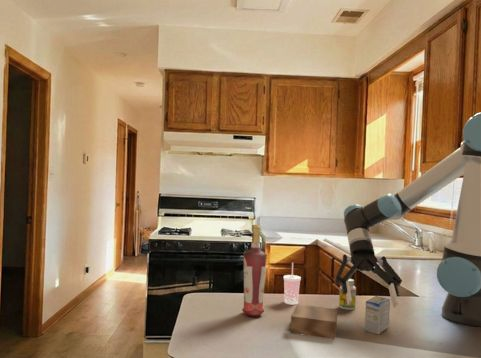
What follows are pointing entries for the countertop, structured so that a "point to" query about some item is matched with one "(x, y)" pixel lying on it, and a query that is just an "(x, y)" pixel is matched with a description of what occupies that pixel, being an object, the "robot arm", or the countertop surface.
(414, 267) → the countertop surface
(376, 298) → the medicine box
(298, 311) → the walnut block
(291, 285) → the beverage cup
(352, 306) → the supplement bottle
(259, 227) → the liquor
